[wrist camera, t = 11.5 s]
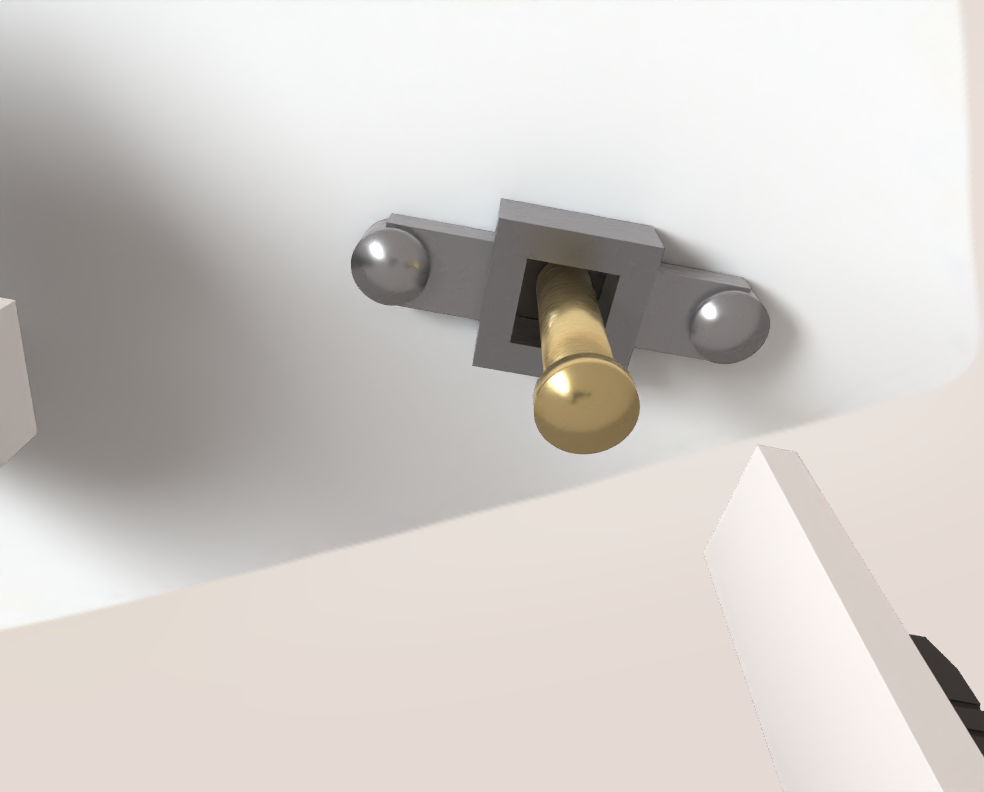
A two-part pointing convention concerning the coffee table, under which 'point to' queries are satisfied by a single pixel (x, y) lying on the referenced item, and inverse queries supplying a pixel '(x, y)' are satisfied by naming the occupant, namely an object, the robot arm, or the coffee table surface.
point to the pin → (579, 368)
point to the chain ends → (566, 241)
